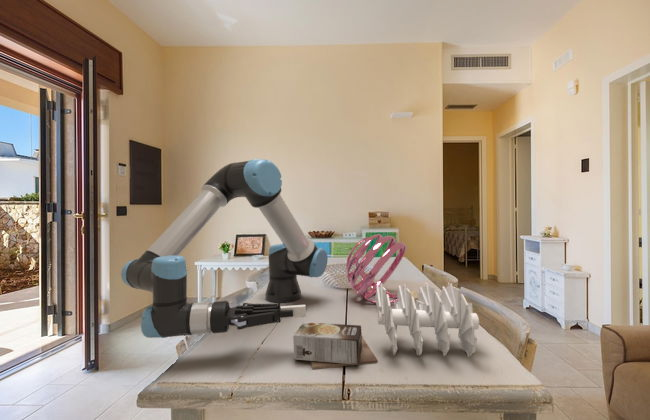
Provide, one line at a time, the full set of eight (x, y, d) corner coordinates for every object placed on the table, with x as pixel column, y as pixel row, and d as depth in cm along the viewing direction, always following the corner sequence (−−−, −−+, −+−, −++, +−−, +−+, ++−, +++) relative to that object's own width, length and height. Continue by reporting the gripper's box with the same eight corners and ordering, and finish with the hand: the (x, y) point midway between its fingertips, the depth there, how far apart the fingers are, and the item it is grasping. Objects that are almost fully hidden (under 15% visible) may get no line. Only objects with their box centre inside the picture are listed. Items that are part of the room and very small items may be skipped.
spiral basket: (439, 252, 120) (384, 214, 132) (408, 282, 99) (346, 234, 111) (408, 297, 135) (361, 259, 146) (376, 331, 114) (324, 284, 126)
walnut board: (305, 337, 89) (305, 335, 89) (358, 332, 91) (358, 330, 91) (312, 369, 71) (312, 366, 71) (377, 362, 73) (377, 360, 73)
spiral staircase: (481, 376, 74) (378, 370, 75) (458, 321, 90) (373, 316, 91) (501, 321, 66) (385, 315, 67) (471, 271, 82) (378, 267, 83)
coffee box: (302, 321, 83) (361, 324, 80) (303, 344, 83) (362, 348, 80) (292, 335, 74) (358, 339, 71) (293, 361, 74) (359, 366, 71)
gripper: (217, 322, 82) (303, 316, 86) (206, 343, 69) (308, 335, 73) (216, 295, 82) (303, 289, 86) (205, 311, 69) (307, 304, 73)
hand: (305, 310), depth 80 cm, fingers closed
